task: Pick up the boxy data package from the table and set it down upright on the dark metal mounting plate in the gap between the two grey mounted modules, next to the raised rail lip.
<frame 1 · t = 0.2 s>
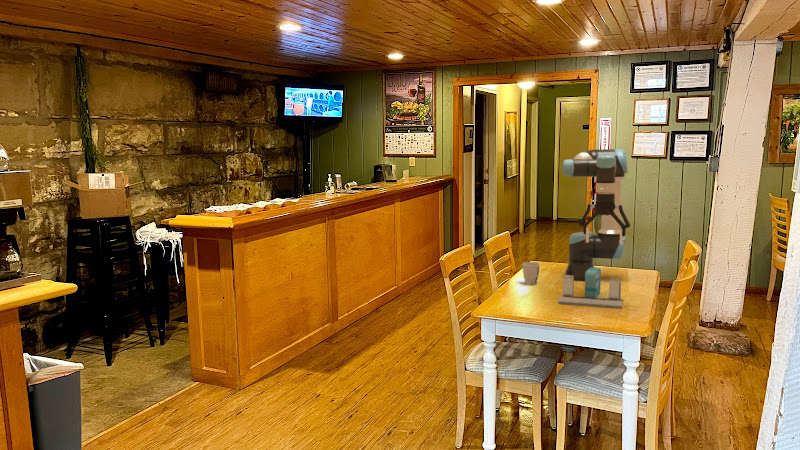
hand: (603, 243, 254), 27 cm above the table, fingers open, 13 cm apart
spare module: (615, 299, 267), on the table
cup: (530, 284, 298), on the table
data package: (592, 295, 274), on the table
rail plate: (590, 302, 263), on the table
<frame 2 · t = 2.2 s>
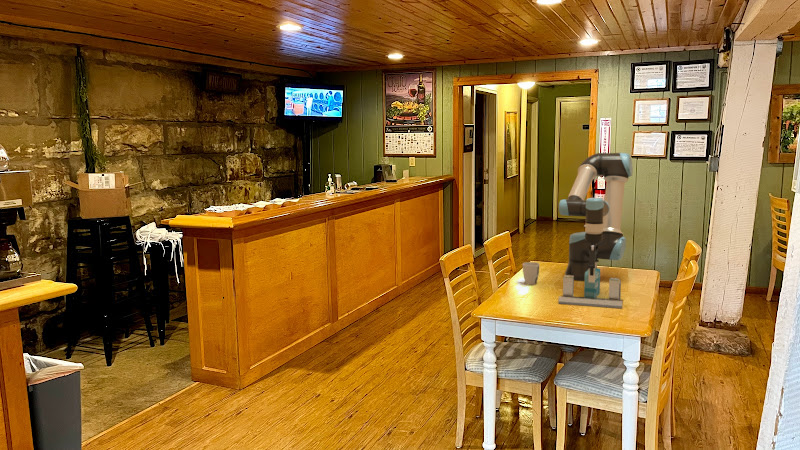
hand: (592, 279, 272), 8 cm above the table, fingers open, 13 cm apart
nothing on the table moved.
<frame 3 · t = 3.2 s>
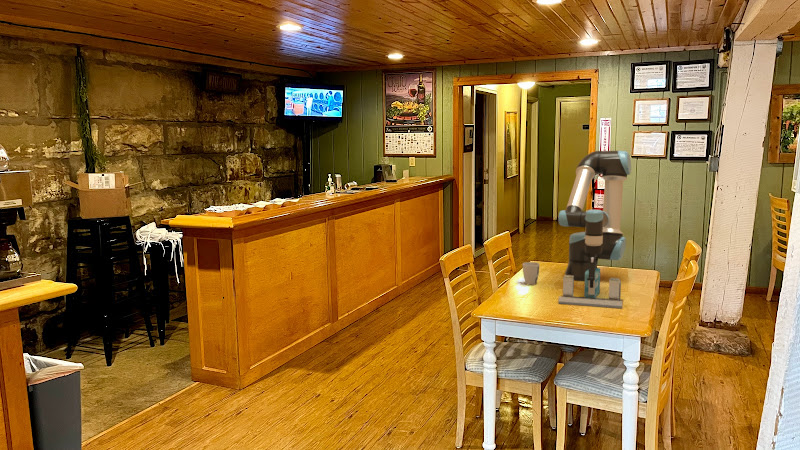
hand: (592, 290, 273), 2 cm above the table, fingers closed on data package, 12 cm apart
data package: (592, 296, 274), on the table, touching gripper
everything else where it was.
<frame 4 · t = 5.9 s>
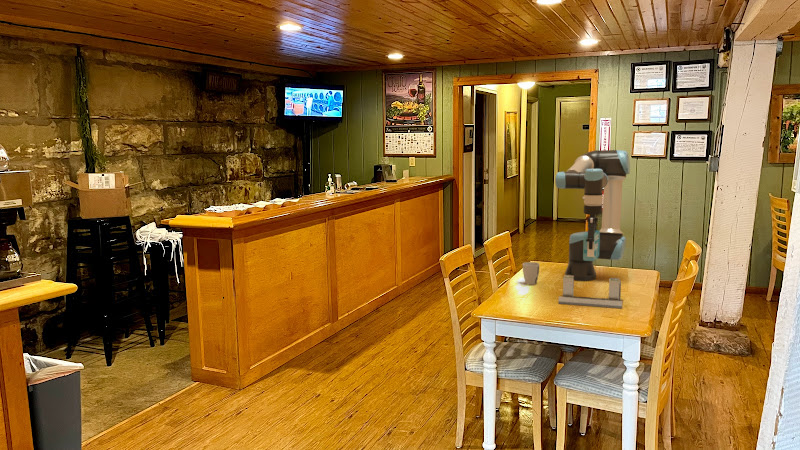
hand: (591, 253, 261), 21 cm above the table, fingers closed on data package, 12 cm apart
data package: (591, 259, 262), point 19 cm above the table, touching gripper
everything else where it was.
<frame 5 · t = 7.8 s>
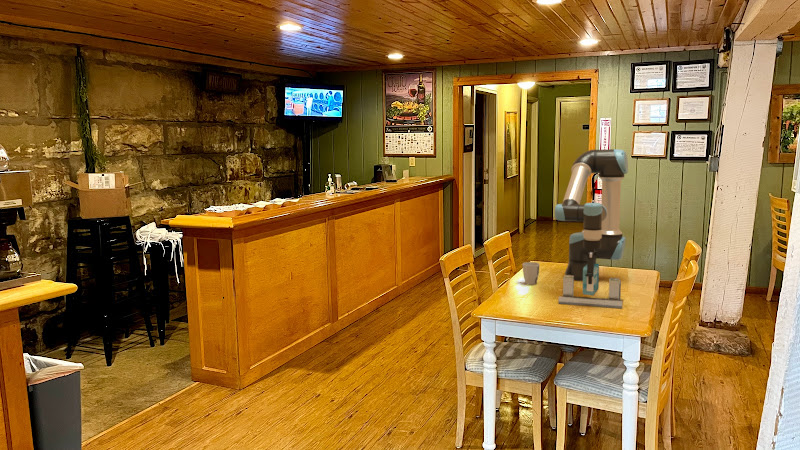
hand: (591, 287, 263), 7 cm above the table, fingers closed on data package, 12 cm apart
data package: (590, 292, 263), point 4 cm above the table, touching gripper
everything else where it was.
when the fingers open (5 cm above the table, at t = 8.9 s): data package stays where it is, resting on rail plate.
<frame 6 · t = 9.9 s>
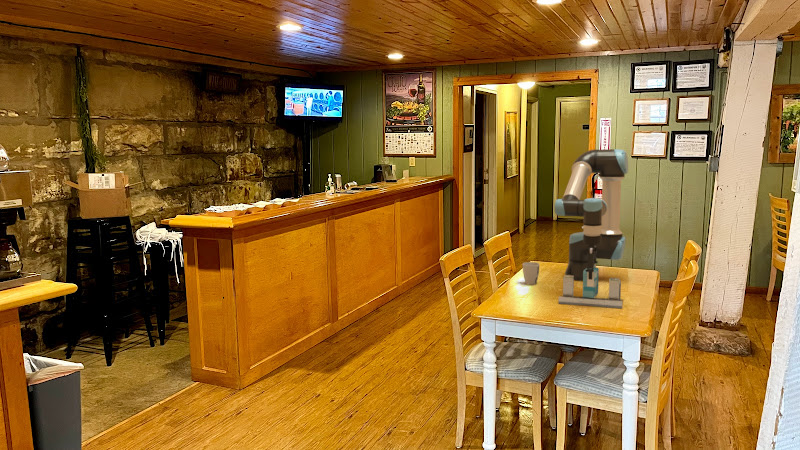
hand: (591, 282, 263), 9 cm above the table, fingers open, 13 cm apart
data package: (590, 296, 264), point 2 cm above the table, touching gripper, rail plate
everything else where it was.
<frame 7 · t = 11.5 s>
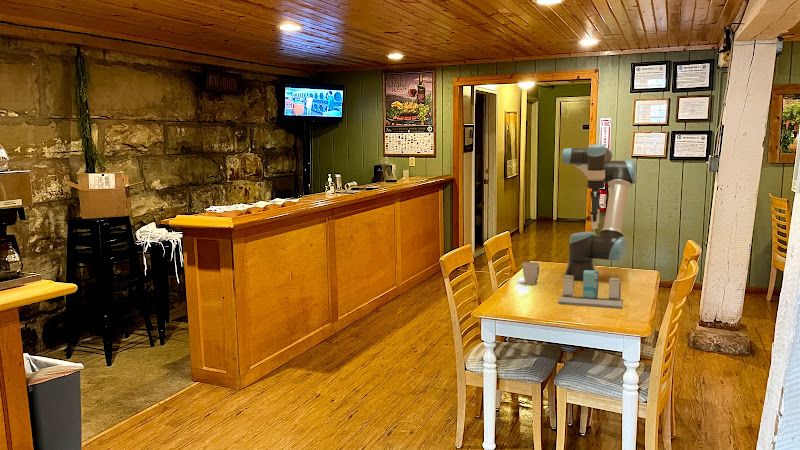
hand: (595, 225, 275), 31 cm above the table, fingers open, 13 cm apart
data package: (590, 298, 264), point 2 cm above the table, touching rail plate
everything else where it was.
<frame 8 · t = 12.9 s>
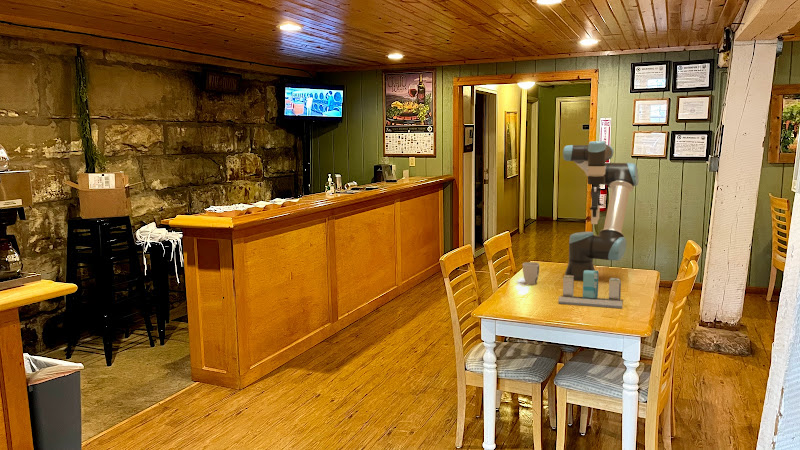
hand: (595, 221, 276), 33 cm above the table, fingers open, 13 cm apart
nothing on the table moved.
at the end: data package inside the target area on the rail plate (0.5 cm from its centre), point 1.6 cm above the rail plate's base; data package tilted 12°; the gripper is holding nothing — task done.
